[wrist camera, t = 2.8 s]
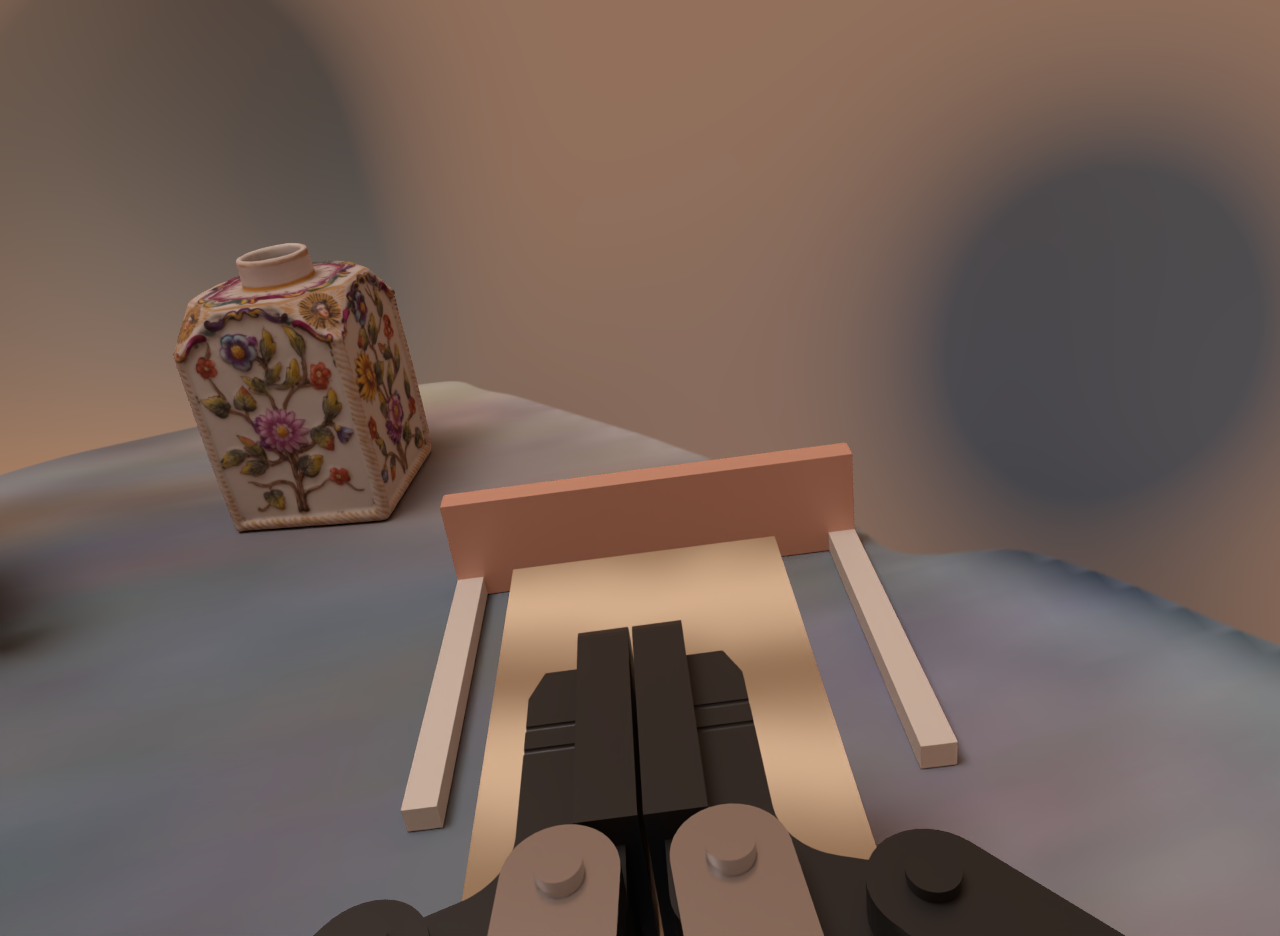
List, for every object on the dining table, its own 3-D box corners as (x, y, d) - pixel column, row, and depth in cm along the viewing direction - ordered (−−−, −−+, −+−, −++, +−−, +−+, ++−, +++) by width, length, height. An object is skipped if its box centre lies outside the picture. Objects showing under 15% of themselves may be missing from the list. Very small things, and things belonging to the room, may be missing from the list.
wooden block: (891, 1214, 25) (885, 874, 20) (558, 1251, 26) (458, 924, 20) (795, 814, 38) (774, 535, 32) (572, 841, 38) (513, 569, 33)
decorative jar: (437, 449, 75) (382, 222, 68) (393, 523, 65) (321, 264, 57) (295, 461, 77) (225, 240, 69) (229, 535, 66) (137, 285, 59)
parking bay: (957, 764, 39) (960, 646, 37) (407, 831, 40) (371, 720, 37) (848, 533, 56) (845, 442, 54) (465, 583, 57) (443, 495, 54)
